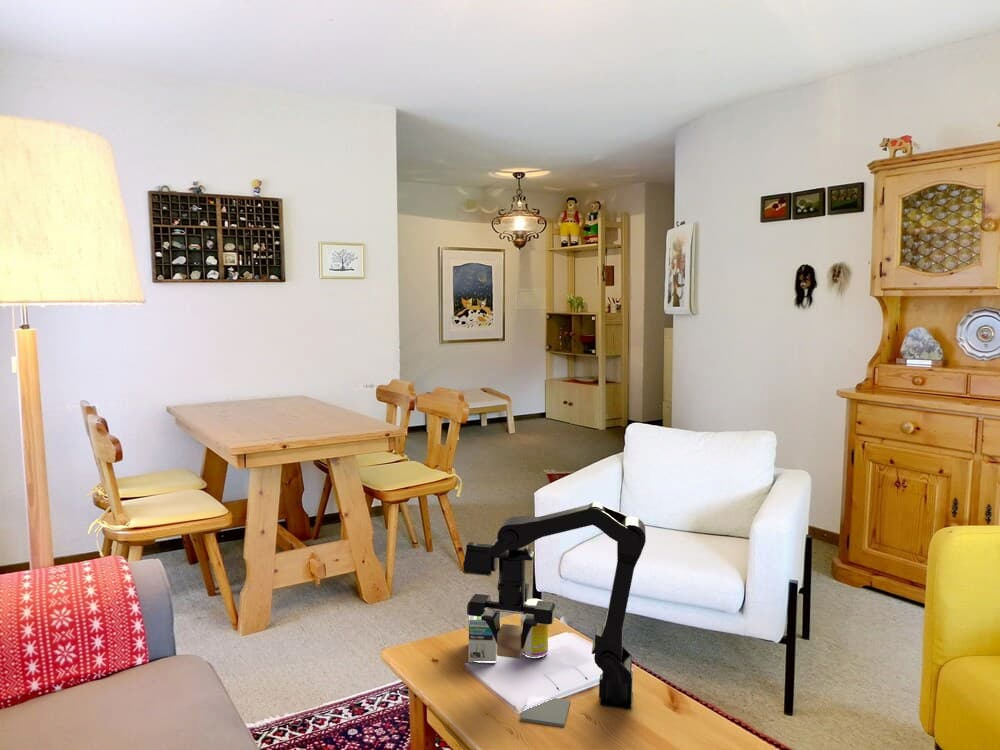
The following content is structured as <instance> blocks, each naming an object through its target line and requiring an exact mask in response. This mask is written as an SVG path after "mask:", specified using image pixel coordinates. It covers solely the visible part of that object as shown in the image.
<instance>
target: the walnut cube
mask: <svg viewBox="0 0 1000 750" xmlns="http://www.w3.org/2000/svg"><path fill="white" fill-rule="evenodd" d="M522 630H523V626H521V625H516V624H509V623H508V624H507V623H501V625H500V630H499V631H498V633H497V656H496V657H502V658H503V657H504V658H511V659H512V658H513V659H518V660H519V659H521V656H523V655H522V652H523V650H524V648H523V649H522V646H521V641H522Z"/></svg>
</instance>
